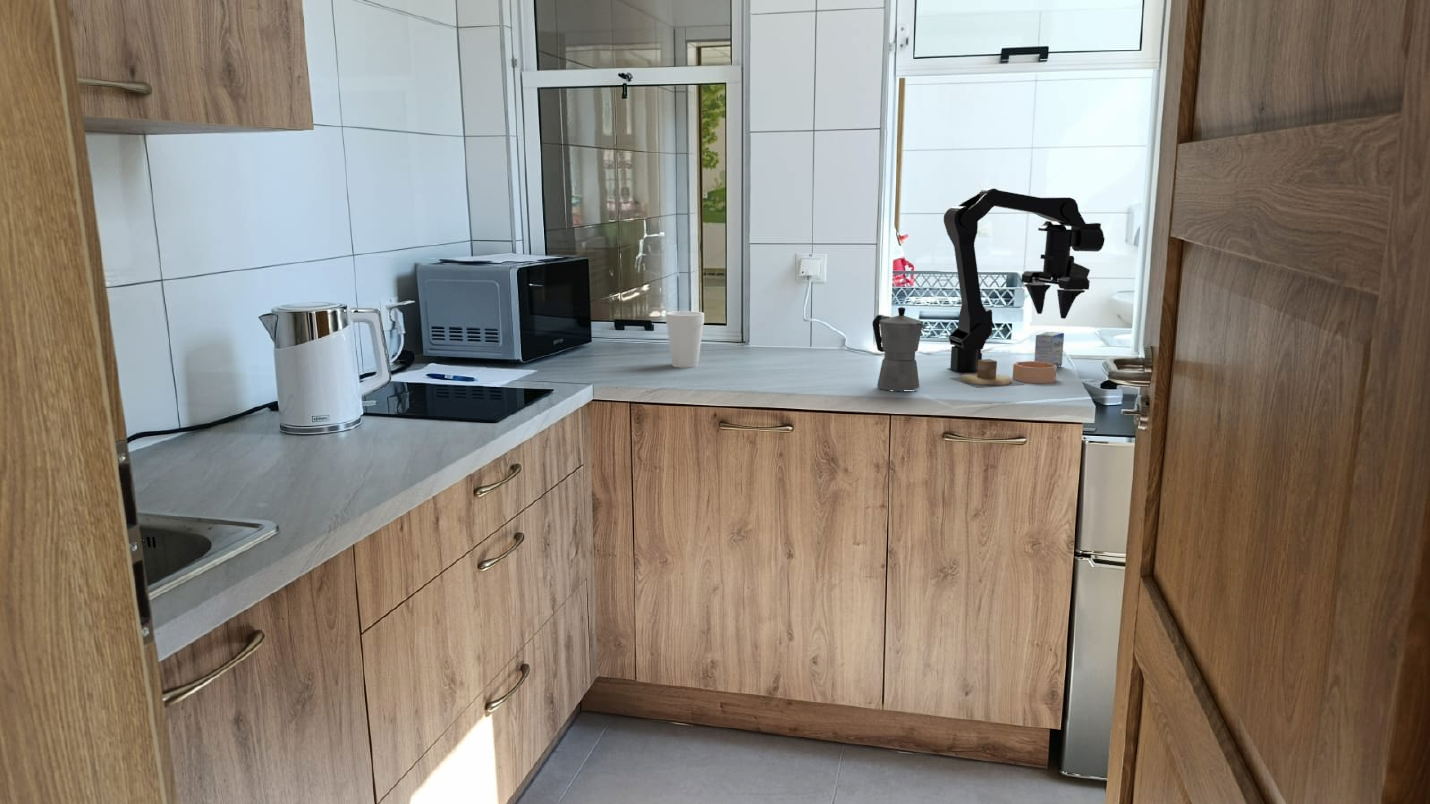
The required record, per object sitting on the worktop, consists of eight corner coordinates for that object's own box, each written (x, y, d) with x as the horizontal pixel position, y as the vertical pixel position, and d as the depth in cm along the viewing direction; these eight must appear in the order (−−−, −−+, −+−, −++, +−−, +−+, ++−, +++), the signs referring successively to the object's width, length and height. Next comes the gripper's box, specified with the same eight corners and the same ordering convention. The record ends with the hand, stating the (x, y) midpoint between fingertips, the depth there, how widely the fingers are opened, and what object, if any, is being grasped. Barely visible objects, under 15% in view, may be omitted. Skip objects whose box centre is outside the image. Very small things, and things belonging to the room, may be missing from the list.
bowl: (1028, 386, 228) (1030, 369, 227) (1005, 379, 236) (1006, 362, 236) (1063, 384, 231) (1064, 367, 230) (1039, 377, 239) (1040, 360, 238)
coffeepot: (935, 391, 222) (939, 309, 219) (903, 395, 217) (907, 311, 214) (886, 379, 235) (889, 302, 231) (855, 384, 230) (858, 304, 226)
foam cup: (706, 362, 256) (706, 311, 254) (702, 369, 247) (702, 315, 245) (668, 361, 257) (668, 310, 255) (663, 368, 248) (663, 315, 246)
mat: (977, 390, 223) (977, 387, 223) (949, 380, 235) (949, 377, 235) (1024, 387, 227) (1024, 384, 227) (994, 377, 238) (994, 375, 238)
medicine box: (1051, 371, 247) (1053, 336, 246) (1033, 369, 250) (1035, 334, 248) (1062, 367, 254) (1064, 332, 252) (1044, 365, 256) (1047, 330, 254)
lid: (978, 387, 224) (979, 365, 223) (952, 378, 234) (953, 357, 233) (1021, 384, 227) (1022, 363, 226) (993, 375, 238) (995, 355, 237)
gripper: (1112, 253, 236) (1104, 320, 239) (1061, 248, 254) (1054, 311, 257) (1072, 253, 233) (1065, 321, 236) (1023, 248, 250) (1017, 311, 253)
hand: (1051, 316), depth 246 cm, fingers open, 9 cm apart
